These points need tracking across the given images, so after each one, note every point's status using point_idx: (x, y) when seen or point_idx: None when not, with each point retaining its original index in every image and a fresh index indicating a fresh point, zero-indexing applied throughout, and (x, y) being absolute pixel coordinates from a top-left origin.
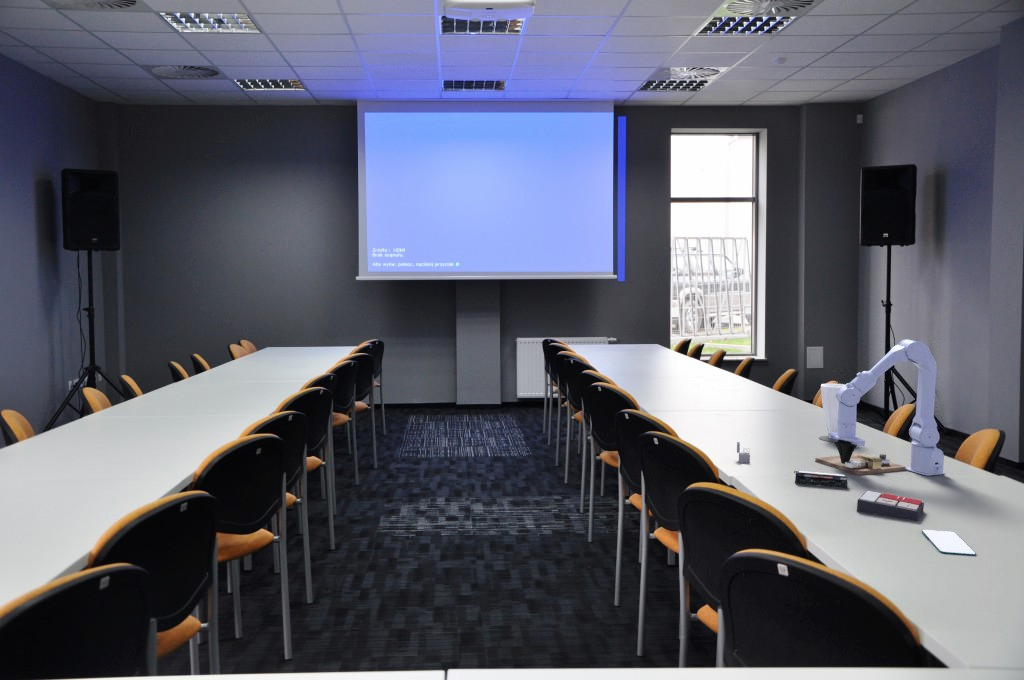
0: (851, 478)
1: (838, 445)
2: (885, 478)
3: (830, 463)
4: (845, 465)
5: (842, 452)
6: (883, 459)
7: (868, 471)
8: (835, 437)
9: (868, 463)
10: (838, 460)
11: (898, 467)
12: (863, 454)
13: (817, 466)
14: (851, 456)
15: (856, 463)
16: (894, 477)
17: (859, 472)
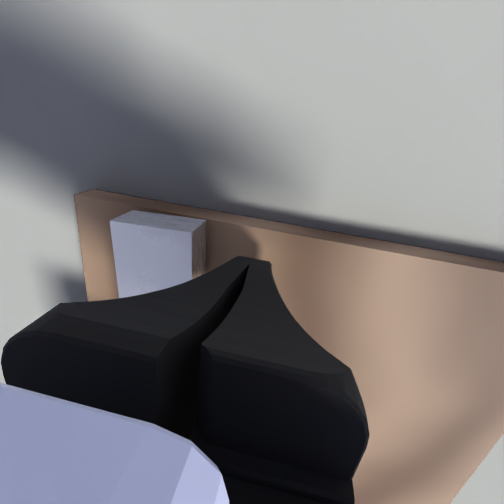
0: (19, 49)
1: (240, 338)
2: (3, 266)
3: (382, 247)
4: (196, 222)
5: (211, 293)
6: None
7: (90, 279)
8: (119, 500)
9: None
10: (390, 362)
11: None
12: None
13: (453, 126)
14: (402, 496)
15: (116, 270)
16: (18, 321)
17: (81, 205)
